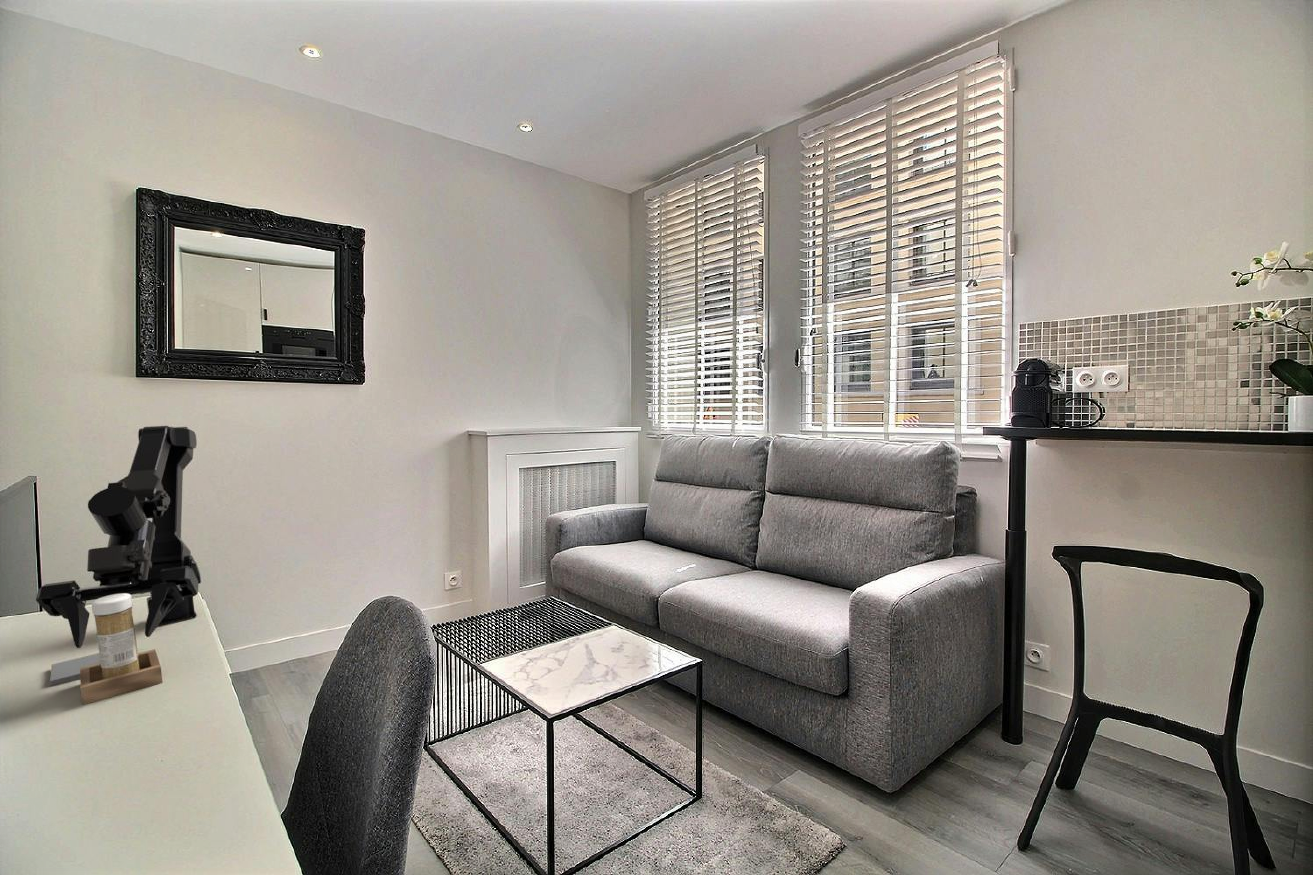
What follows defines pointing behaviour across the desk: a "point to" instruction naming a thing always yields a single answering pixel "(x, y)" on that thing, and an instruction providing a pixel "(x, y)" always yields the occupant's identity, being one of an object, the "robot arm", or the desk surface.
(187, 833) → the desk surface
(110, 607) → the sprinkles bottle
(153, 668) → the collar
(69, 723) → the desk surface
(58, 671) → the pad
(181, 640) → the desk surface
